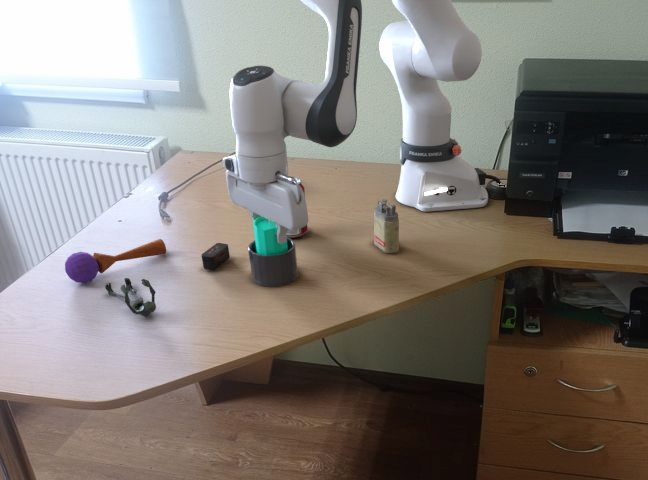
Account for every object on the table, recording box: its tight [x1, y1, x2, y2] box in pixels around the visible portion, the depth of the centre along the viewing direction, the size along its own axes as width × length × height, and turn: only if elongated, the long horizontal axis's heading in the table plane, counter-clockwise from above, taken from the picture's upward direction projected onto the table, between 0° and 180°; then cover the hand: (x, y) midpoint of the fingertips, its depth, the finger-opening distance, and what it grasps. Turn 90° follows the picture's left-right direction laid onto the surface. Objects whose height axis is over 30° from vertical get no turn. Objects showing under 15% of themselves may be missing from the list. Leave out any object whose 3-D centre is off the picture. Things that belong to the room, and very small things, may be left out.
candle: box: [252, 217, 288, 255], centre depth 128 cm, size 6×6×12 cm
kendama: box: [64, 238, 167, 284], centre depth 134 cm, size 6×6×20 cm
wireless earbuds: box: [201, 242, 231, 272], centre depth 136 cm, size 5×7×3 cm, turn 158°
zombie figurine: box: [104, 277, 157, 317], centre depth 121 cm, size 5×7×15 cm
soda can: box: [286, 176, 309, 239], centre depth 145 cm, size 7×7×12 cm
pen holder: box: [247, 238, 299, 288], centre depth 130 cm, size 9×9×6 cm
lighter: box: [373, 198, 400, 254], centre depth 139 cm, size 7×4×10 cm, turn 28°
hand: (270, 237), depth 127 cm, fingers closed on candle, 5 cm apart
